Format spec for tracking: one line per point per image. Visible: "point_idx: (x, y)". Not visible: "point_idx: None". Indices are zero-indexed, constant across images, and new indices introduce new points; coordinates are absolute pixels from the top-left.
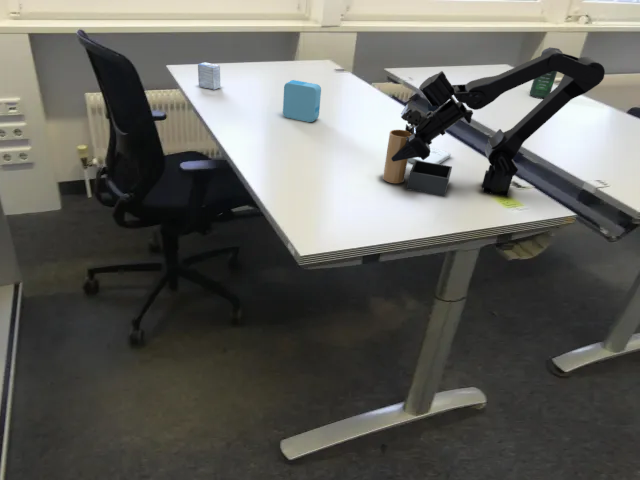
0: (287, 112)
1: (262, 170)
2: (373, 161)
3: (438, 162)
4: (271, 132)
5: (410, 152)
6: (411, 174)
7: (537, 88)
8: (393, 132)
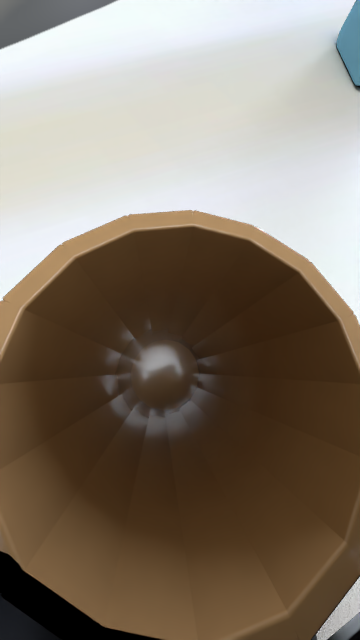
0: (348, 28)
1: (25, 79)
2: None
3: None
4: (244, 45)
5: None
6: None
7: None
8: (232, 256)
